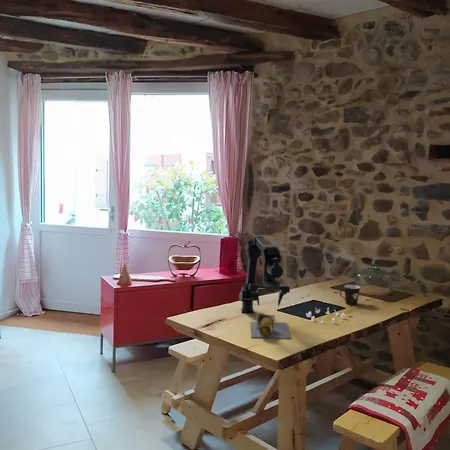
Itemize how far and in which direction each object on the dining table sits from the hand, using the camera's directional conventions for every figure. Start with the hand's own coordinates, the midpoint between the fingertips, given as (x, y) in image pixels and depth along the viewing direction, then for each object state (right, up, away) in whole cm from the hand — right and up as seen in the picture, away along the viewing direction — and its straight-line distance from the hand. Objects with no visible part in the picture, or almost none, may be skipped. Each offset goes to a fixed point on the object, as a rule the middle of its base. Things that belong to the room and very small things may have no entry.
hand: (268, 305), depth 243 cm
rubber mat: (+1, -12, +5) cm, 13 cm away
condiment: (-1, -8, +4) cm, 9 cm away
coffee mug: (+50, -7, +53) cm, 73 cm away
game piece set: (+31, -11, +26) cm, 42 cm away
